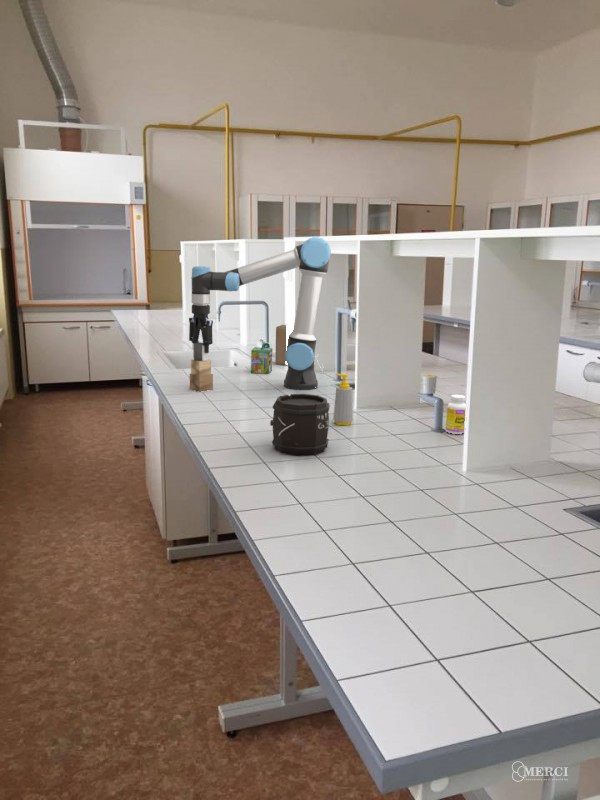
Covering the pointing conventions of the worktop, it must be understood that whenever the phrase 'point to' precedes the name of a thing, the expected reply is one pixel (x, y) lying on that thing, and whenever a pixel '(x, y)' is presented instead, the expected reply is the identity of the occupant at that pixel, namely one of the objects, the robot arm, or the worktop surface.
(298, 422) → the wooden barrel
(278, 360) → the block
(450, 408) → the supplement bottle
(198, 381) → the walnut cube
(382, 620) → the worktop surface
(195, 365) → the oak cube
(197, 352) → the stopper
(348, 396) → the soap bottle
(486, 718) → the worktop surface
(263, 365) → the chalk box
